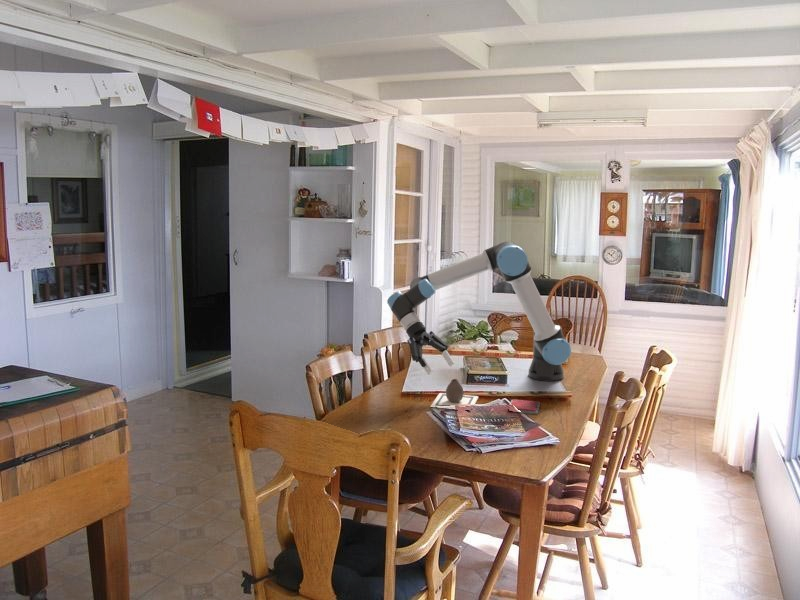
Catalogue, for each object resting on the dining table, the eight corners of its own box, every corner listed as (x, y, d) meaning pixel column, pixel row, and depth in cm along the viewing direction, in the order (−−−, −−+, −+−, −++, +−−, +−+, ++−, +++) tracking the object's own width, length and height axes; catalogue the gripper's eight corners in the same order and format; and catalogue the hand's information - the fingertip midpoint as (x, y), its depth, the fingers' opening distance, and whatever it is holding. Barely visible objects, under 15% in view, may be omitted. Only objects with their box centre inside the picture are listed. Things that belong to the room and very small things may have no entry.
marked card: (478, 397, 276) (478, 395, 276) (471, 411, 261) (471, 409, 261) (439, 394, 280) (439, 392, 280) (430, 407, 265) (430, 405, 265)
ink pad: (539, 404, 268) (539, 401, 267) (537, 414, 257) (537, 410, 257) (511, 401, 271) (511, 398, 270) (507, 411, 260) (507, 408, 260)
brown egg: (465, 403, 268) (465, 382, 266) (448, 404, 267) (448, 383, 265) (460, 397, 274) (461, 376, 273) (444, 398, 273) (444, 377, 271)
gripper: (428, 325, 290) (456, 366, 283) (387, 337, 272) (415, 381, 265) (437, 315, 285) (466, 356, 278) (396, 326, 267) (426, 371, 260)
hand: (441, 368), depth 272 cm, fingers open, 13 cm apart
